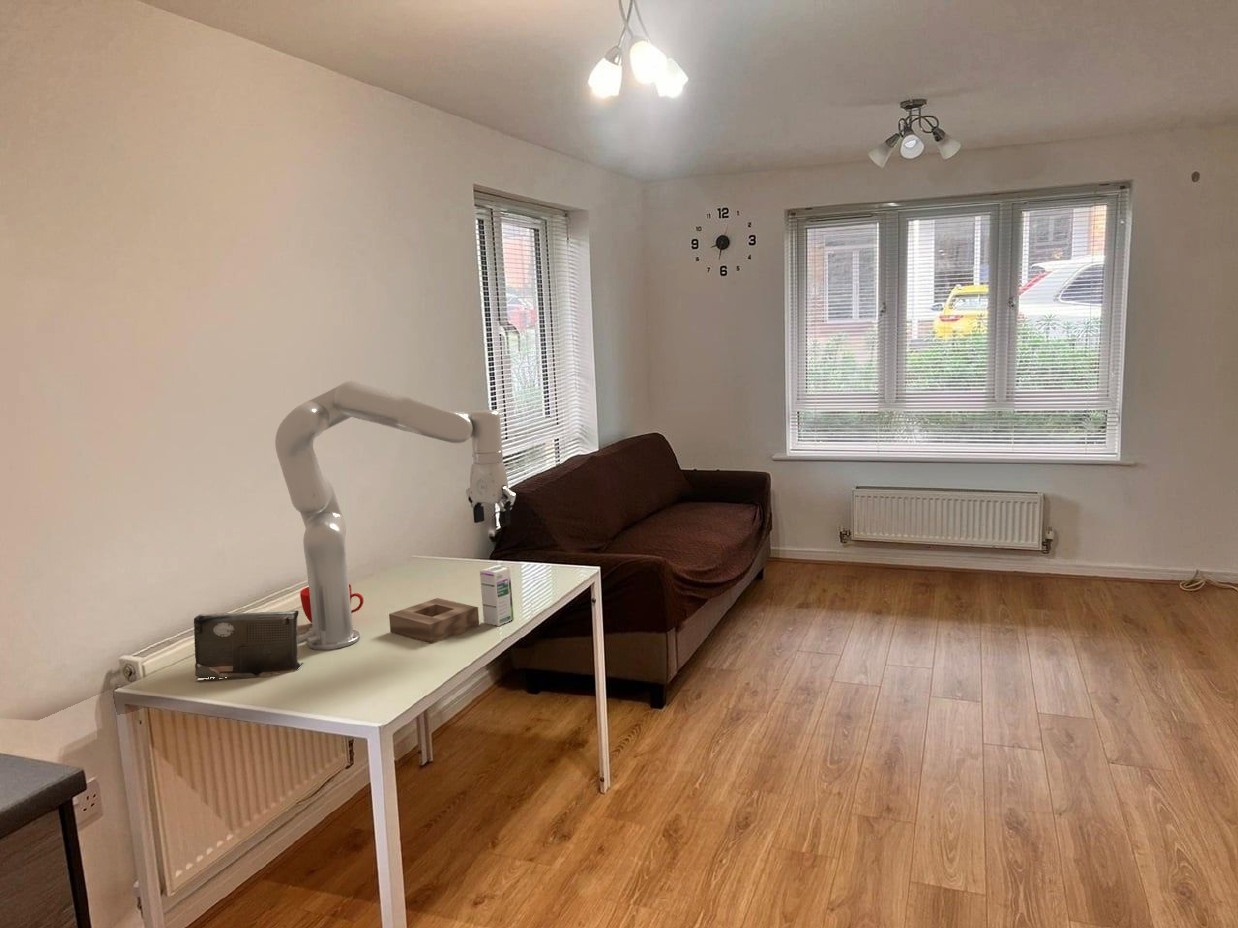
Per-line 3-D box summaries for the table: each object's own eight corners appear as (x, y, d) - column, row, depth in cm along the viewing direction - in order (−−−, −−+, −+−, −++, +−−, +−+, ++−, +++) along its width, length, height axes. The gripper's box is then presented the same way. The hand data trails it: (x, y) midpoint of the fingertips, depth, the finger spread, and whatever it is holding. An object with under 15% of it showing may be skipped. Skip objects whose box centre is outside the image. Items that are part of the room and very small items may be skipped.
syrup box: (498, 626, 226) (495, 572, 224) (482, 622, 230) (479, 569, 227) (514, 620, 230) (510, 567, 228) (498, 616, 234) (494, 564, 232)
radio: (308, 662, 206) (303, 601, 204) (298, 676, 197) (292, 613, 195) (207, 669, 204) (200, 607, 202) (192, 683, 196) (185, 619, 194)
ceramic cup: (353, 634, 225) (349, 596, 223) (293, 632, 228) (290, 595, 227) (376, 618, 237) (373, 582, 236) (320, 616, 241) (316, 581, 239)
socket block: (431, 643, 215) (429, 624, 214) (390, 632, 225) (389, 613, 224) (479, 625, 227) (478, 607, 227) (438, 615, 237) (437, 597, 236)
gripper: (454, 458, 226) (458, 523, 229) (501, 462, 216) (505, 530, 218) (475, 454, 232) (479, 518, 235) (522, 458, 222) (526, 524, 224)
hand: (492, 523), depth 226 cm, fingers open, 9 cm apart
